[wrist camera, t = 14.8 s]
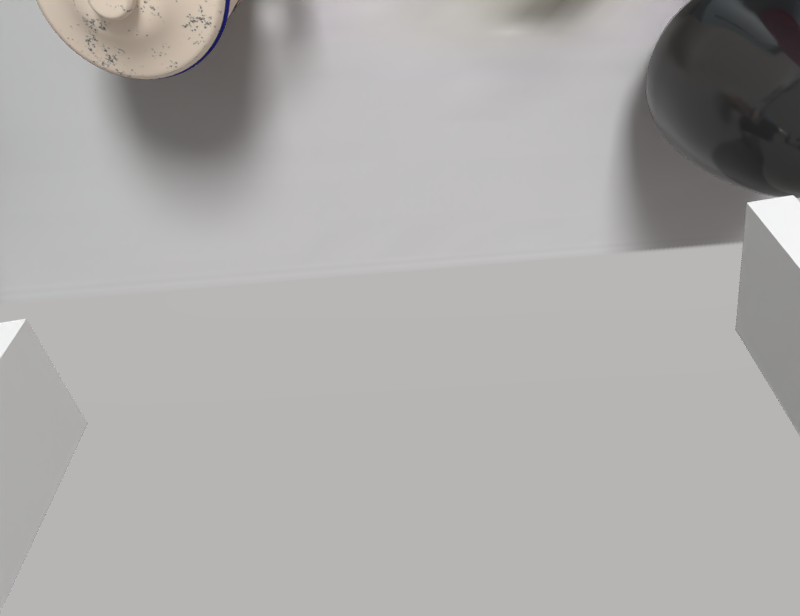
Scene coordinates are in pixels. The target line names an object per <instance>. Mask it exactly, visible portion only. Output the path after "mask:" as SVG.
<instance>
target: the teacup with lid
mask: <svg viewBox="0 0 800 616" xmlns="http://www.w3.org/2000/svg"><path fill="white" fill-rule="evenodd" d="M36 1H37V3H38V5H39V7H40V9H41V11H42V13H43V15H44V16H45V18H46V20H47V21H48V23H49V24H50V25H51V27H52V28H53V30H54V31H55V32H56V33H57V34H58V36H59V37H60V38H61V39H62V40H63V41H64V42H65V43H66V44H67V45H68V46H69V47H70V48H71V49H72V50H73V51H75V52H76V53H77V54H78V55H80V56H81V57H82V58H84V59H85V60H87V61H88V62H90V63H92V64H93V65H95V66H97V67H99V68H101V69H103V70H105V71H108V72H110V73H113V74H116V75H119V76H123V77H128V78H134V79H161V78H167V77H171V76H175V75H178V74H180V73H183V72H185V71H187V70H189V69H191V68H192V67H194V66H195V65H197V64H198V63H199V62H201V61H202V60H203V59H204V58H205V57H206V56H207V55H208V54H209V53H210V52H211V51H212V49H213V48H214V47H215V45H216V44H217V42H218V40H219V38H220V37H221V35H222V32H223V30H224V28H225V25H226V21H227V19H228V18H229V16H230V15H231V14H232V12H233V11H234V9H235V8H236V7H237V5H238V4H239V2H240V1H241V0H36Z"/></svg>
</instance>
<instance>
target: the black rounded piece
mask: <svg viewBox="0 0 800 616" xmlns="http://www.w3.org/2000/svg"><path fill="white" fill-rule="evenodd" d="M646 94H647V101H648V106H649V110H650V113H651V115H652V118H653V120H654V122H655V124H656V126H657V127H658V129H659V130H660V132H661V133H662V135H663V136H664V137H665V138H666V140H667V141H668V142H669V143H670V144H671V145H672V146H673V147H674V148H675V149H676V150H677V151H678V152H680V153H681V154H682V155H683V156H684V157H686V158H687V159H688V160H690V161H691V162H692V163H694V164H695V165H696V166H698V167H699V168H701V169H703V170H704V171H706V172H708V173H709V174H711V175H713V176H715V177H717V178H719V179H721V180H723V181H725V182H728V183H730V184H733V185H735V186H738V187H740V188H743V189H746V190H749V191H752V192H755V193H759V194H763V195H768V196H773V197H784V196H790V195H794V196H795V197H796V198H800V0H690V1H688V2H687V3H686V4H685V5H684V6H683V7H682V8H681V9H680V10H679V11H678V12H677V13H676V14H675V15H674V16H673V18H672V19H671V20H670V21H669V23H668V24H667V26H666V27H665V29H664V30H663V32H662V34H661V36H660V38H659V40H658V42H657V44H656V46H655V49H654V51H653V54H652V56H651V60H650V63H649V67H648V72H647V80H646Z"/></svg>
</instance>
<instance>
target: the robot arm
mask: <svg viewBox="0 0 800 616" xmlns="http://www.w3.org/2000/svg"><path fill="white" fill-rule="evenodd" d="M736 331H737V333H738V334H739V336H740V338H741V339H742V341H743V342H744V344H745V346H746V348H747V349H748V351H749V353H750V354H751V356H752V358H753V359H754V361H755V362H756V364H757V366H758V367H759V369H760V371H761V372H762V374H763V376H764V377H765V379H766V381H767V382H768V384H769V386H770V387H771V389H772V391H773V392H774V394H775V396H776V397H777V399H778V401H779V402H780V404H781V406H782V407H783V409H784V410H785V412H786V414H787V416H788V417H789V419H790V420H791V422H792V424H793V425H794V427H795V429H796V430H797V432H798V434H799V435H800V202H799V201H798V199H797V198H796V197H795V196H794V195H790V196H784V197H778V198H772V199H766V200H759V201H753V202H747V206H746V217H745V228H744V240H743V251H742V262H741V273H740V285H739V297H738V307H737V319H736ZM86 426H87V422H86V420H85V418H84V416H83V415H82V413H81V411H80V409H79V408H78V406H77V404H76V403H75V401H74V399H73V397H72V396H71V394H70V392H69V391H68V389H67V387H66V385H65V384H64V382H63V380H62V379H61V377H60V375H59V373H58V372H57V370H56V368H55V367H54V365H53V363H52V361H51V360H50V358H49V356H48V355H47V353H46V351H45V349H44V348H43V346H42V345H41V343H40V341H39V339H38V337H37V336H36V334H35V332H34V331H33V329H32V327H31V325H30V324H29V322H28V320H27V319H21V320H15V321H9V322H3V323H0V612H1V610H2V608H3V605H4V603H5V601H6V599H7V597H8V595H9V592H10V590H11V588H12V586H13V584H14V582H15V579H16V577H17V575H18V573H19V571H20V568H21V566H22V564H23V562H24V560H25V558H26V556H27V553H28V551H29V549H30V547H31V545H32V543H33V541H34V538H35V536H36V534H37V532H38V530H39V527H40V525H41V523H42V521H43V519H44V517H45V515H46V512H47V510H48V508H49V506H50V504H51V502H52V499H53V497H54V495H55V493H56V491H57V489H58V487H59V484H60V482H61V480H62V478H63V476H64V474H65V471H66V469H67V467H68V465H69V463H70V460H71V458H72V456H73V454H74V452H75V450H76V448H77V446H78V443H79V441H80V439H81V437H82V435H83V433H84V430H85V428H86Z"/></svg>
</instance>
